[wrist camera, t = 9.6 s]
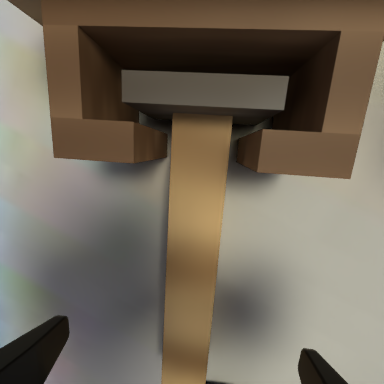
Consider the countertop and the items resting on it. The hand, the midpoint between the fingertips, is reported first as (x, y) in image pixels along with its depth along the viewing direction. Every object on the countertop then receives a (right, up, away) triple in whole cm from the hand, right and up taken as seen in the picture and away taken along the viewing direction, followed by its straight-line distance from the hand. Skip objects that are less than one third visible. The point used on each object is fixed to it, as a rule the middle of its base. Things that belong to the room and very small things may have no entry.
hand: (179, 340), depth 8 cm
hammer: (+1, +1, +7) cm, 7 cm away
